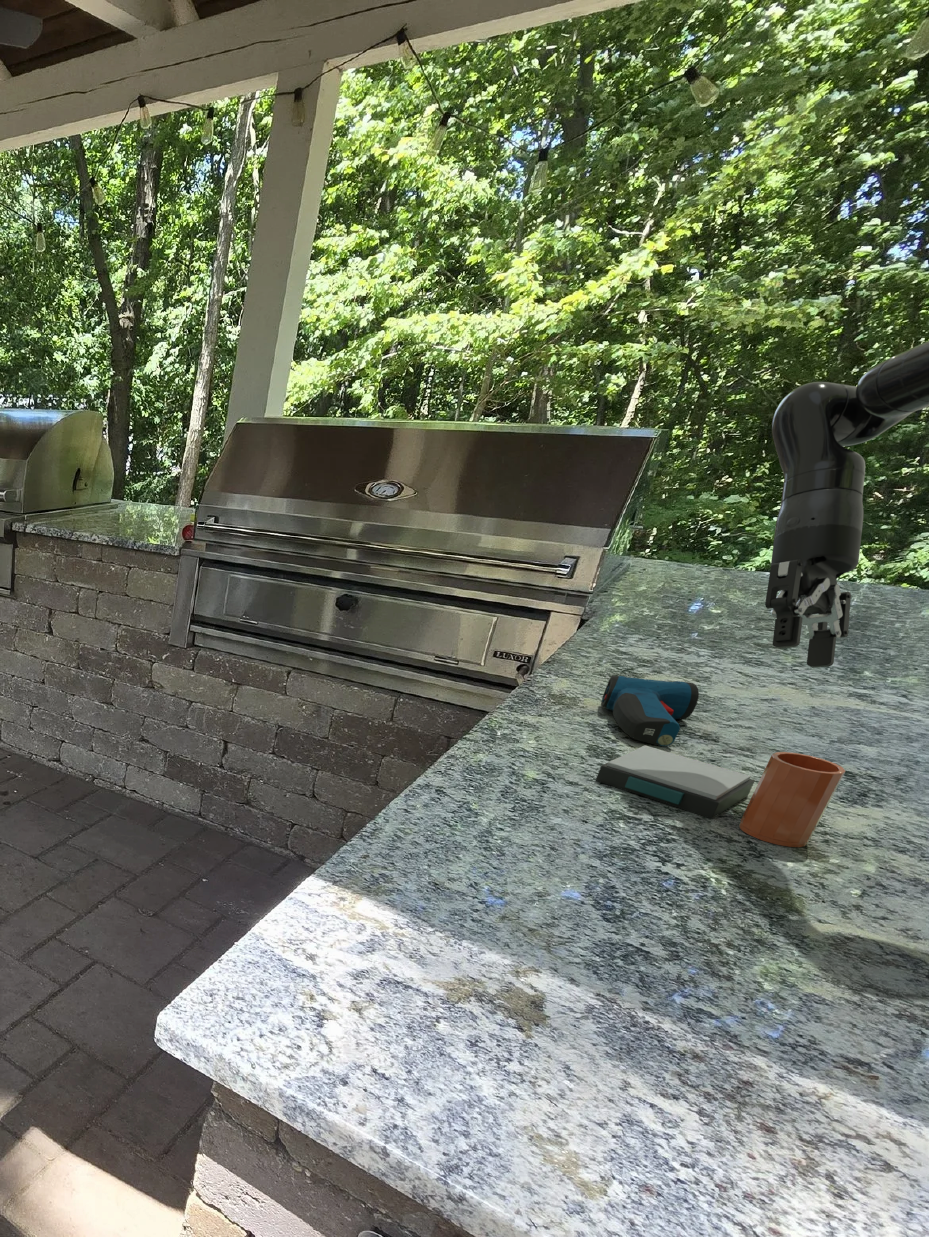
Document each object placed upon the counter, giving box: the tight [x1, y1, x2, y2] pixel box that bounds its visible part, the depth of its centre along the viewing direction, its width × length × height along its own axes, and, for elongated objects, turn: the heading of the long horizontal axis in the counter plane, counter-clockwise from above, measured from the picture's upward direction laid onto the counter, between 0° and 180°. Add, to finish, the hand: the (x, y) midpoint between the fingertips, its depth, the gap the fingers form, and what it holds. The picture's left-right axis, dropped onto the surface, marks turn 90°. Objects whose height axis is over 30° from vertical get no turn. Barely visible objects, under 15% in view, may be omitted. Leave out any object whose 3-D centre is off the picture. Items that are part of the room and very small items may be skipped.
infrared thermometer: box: [600, 675, 700, 747], centre depth 132 cm, size 6×13×20 cm
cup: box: [738, 751, 846, 848], centre depth 98 cm, size 6×6×10 cm
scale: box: [595, 745, 756, 820], centre depth 111 cm, size 13×14×3 cm
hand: (803, 656), depth 100 cm, fingers open, 8 cm apart
